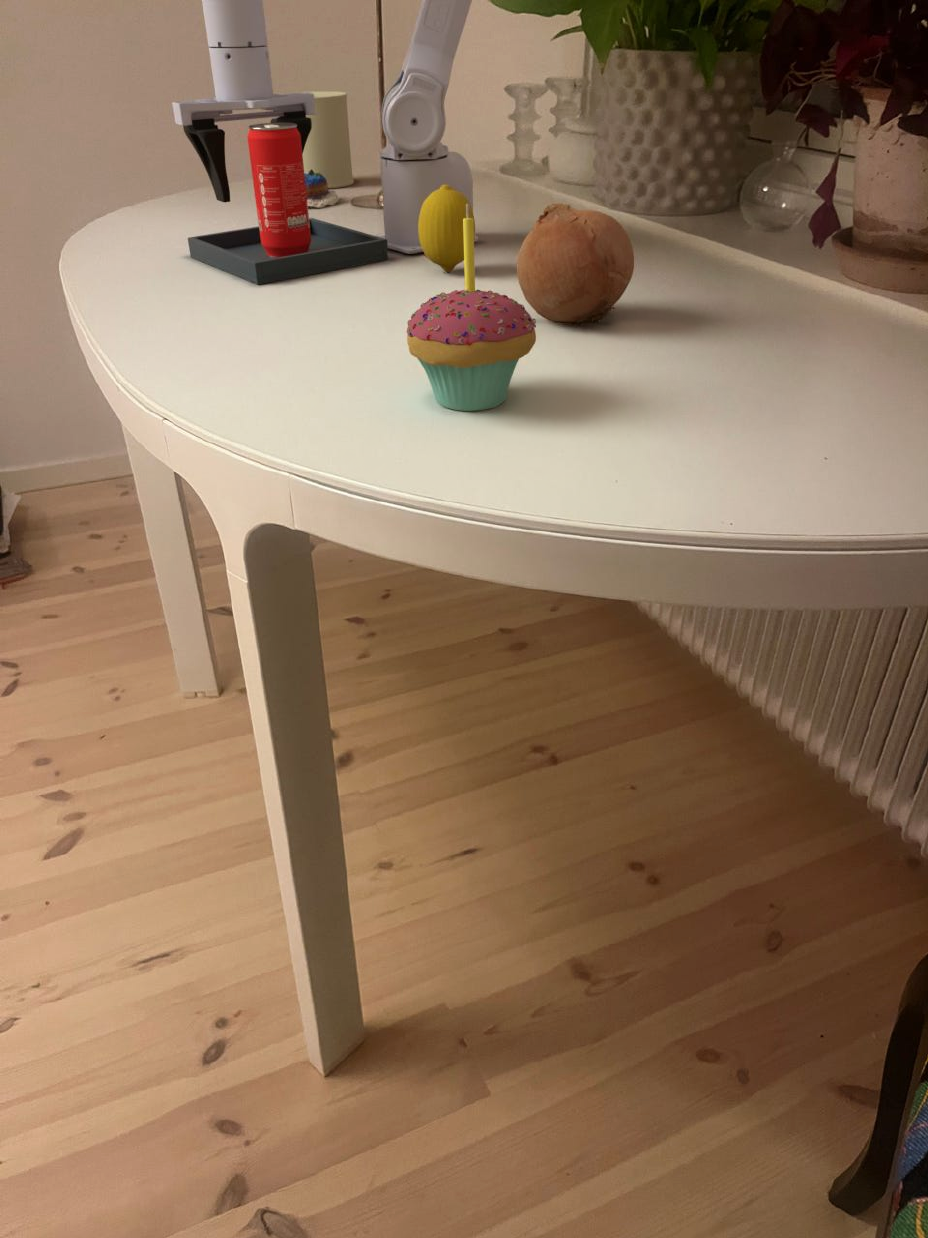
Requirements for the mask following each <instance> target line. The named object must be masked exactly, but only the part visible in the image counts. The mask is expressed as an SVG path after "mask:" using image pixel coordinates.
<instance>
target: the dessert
mask: <svg viewBox="0 0 928 1238" xmlns="http://www.w3.org/2000/svg"><path fill="white" fill-rule="evenodd" d="M304 174H305V173H304ZM305 184H306V194H307V204H308V207H314V208H325V207H326V206H328V205H329V206H335V204H336V203H337V202H339V199H340V197H339V195H338V193H337V192H336V191H335V190H330V189H328V183H327V180H326V178H325V177H323V175H321V173H314V172H313V170H312V169H311V170H310V171H309V173H308V174H305Z"/></svg>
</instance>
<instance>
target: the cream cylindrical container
mask: <svg viewBox="0 0 928 1238" xmlns="http://www.w3.org/2000/svg"><path fill="white" fill-rule="evenodd" d="M298 93H312V94H314V102H315V113H316V114H314V115H306V117H308V118H311V122H312V129H311V131H310V134H309V136H308V139H307V141H306V144H305V147H304V151H303V154H302V155H303V165H304V173H305V174H308V173H309V171H310V170H311V169H312V170H313V172H314V173H321V175H323V177H325V178H326V180H327V183H328V190H330V189H339V188H345V187H348V186H351V185H353V184H354V183H355V180H354V175H353V167H352V157H351V142H350V128H349V114H348V100H347V99H348V94H347V92H344V91H343V92H342V91H323V90H322V91H302V92H301V91H300V92H299V91H298Z"/></svg>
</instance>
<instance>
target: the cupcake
mask: <svg viewBox="0 0 928 1238" xmlns="http://www.w3.org/2000/svg"><path fill="white" fill-rule="evenodd" d="M466 216H467V218H464V219H463V234H464V261H463V265H464V269H463V270H464V289H461V290H458V289H455V290H453V291H451V292H440V294H436V295H435V296H433V297H430V298H429V299H428V300H426V301H425V302H422V303H421V304H420V308H418V309H416V311H414V312H413V313H412V314H411V316H410V319H408V320H407V321H406V322H407V323H406V324H407V328H406V335H407V337H406V340H407V347H408V352H409V353H410V355H411V356H413V357H415V358H417V360H418V361H419V363H420V364H421V366H422V368H423V370H424V371H425V374H426V375H427V378H428V382H429V383H430V386H431V389H432V393H433V395H434V399H435V401H436V402H437V404H439V405H440V406H442V407H444V408H447V409H449V410H455V411H462V412H475V411H484V410H485V411H486V410H488V409H493V408H495V407H497V406H499V405H501V404H502V403H503V402H504V401H505V400H506V397H507V394H508V390H509V388H510V383H511V381H512V378H513V374H514V372H515V369H516V368H517V364H518V362H519V360H520V359H521V358H523V357H525V356H527V355H528V354H529V353H530V351H531V350H532V348H533V347H534V345H535V343H536V342H537V333H536V329H535V328H537V325H536V323H537V319H536V318H532V316H531V314H530V313H529V312H528V311H527V310H526V307H525V305H524V304H522V303H518V301H517V300H515V299H513V298H512V297H509V296H508V295H506V294H500V293H498V292H493V291H492V290H488V291H485V290H480V289H476V275H475V274H476V272H475V271H476V270H475V269H476V268H475V242H474V224H473V218H470V210H469V204H466Z"/></svg>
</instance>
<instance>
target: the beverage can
mask: <svg viewBox="0 0 928 1238" xmlns="http://www.w3.org/2000/svg"><path fill="white" fill-rule="evenodd" d="M248 129H249V130H248V133H247V137H246V138H247V147H248V152H249V160H250V169H251V175H252V183H253V191H254V192H253V193H254V198H255V199H254V200H255V205H256V206H255V207H256V215H257V221H258V226H259V230H260V238H261V244H262V246H263V248H264V249H265V251H266V254H267V256H269V257H273V258H279V257H284V256H290V255H295V254H301V253H306V252H309V246H310V243H311V233H310V223H309V218H310V214H309V206H308V204H307V194H306V184H305V174H304V165H303V155H302V145H301V135H300V133H299V131H298V129H297V124H294V123H271V122H264V123H255V124H251V125H248Z"/></svg>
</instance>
